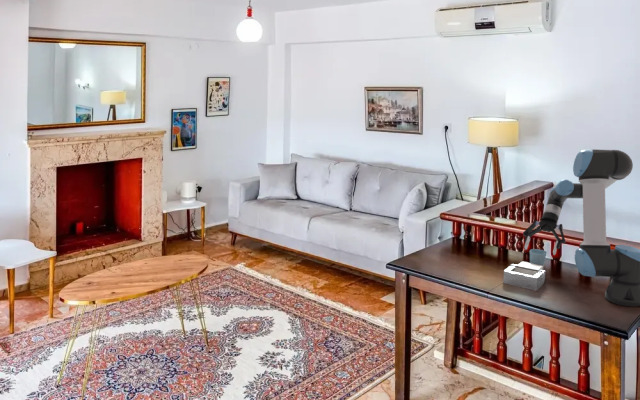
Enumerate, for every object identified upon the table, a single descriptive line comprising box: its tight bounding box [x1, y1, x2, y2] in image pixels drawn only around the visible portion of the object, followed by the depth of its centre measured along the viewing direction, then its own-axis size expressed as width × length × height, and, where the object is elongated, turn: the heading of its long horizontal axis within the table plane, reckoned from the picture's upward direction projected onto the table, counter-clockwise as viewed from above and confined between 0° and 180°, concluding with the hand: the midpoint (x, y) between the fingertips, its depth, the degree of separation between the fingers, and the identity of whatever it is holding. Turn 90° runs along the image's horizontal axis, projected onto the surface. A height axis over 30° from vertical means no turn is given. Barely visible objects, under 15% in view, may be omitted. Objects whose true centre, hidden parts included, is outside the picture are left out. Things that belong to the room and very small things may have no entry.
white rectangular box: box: [502, 263, 546, 291], centre depth 256 cm, size 12×15×6 cm
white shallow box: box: [510, 261, 545, 276], centre depth 261 cm, size 11×14×6 cm
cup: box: [529, 248, 547, 266], centre depth 270 cm, size 8×8×10 cm
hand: (539, 251), depth 273 cm, fingers open, 13 cm apart
